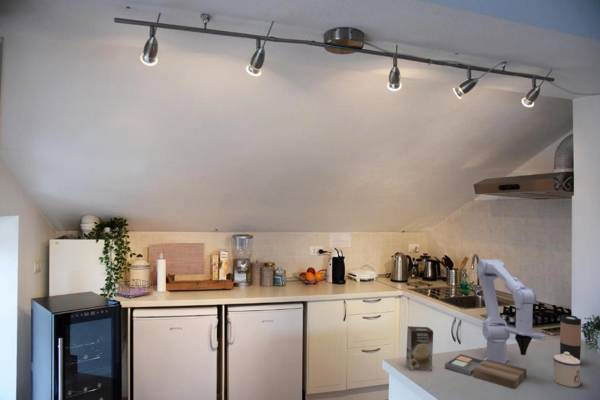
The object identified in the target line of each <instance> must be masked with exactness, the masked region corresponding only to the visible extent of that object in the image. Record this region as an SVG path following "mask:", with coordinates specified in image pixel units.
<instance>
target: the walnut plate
mask: <svg viewBox="0 0 600 400" xmlns="http://www.w3.org/2000/svg"><path fill="white" fill-rule="evenodd" d="M483 361H484V360H483ZM472 377H473V378H476V379H480V380H483V381H486V382H490V383H493V384H496V385H499V386H502V387H506V388H508V389H512V390H513V389H514V390H515V389H516V388H517V387H518V386H519V385H520V384H521V383H522V382H523V381H524V380H525V379H526V378H527V368H524V367H521V366H520V367H519V366H516V365H512V364H509V363H501V362H498V361H494V360H490V359H486V360H485V361H484V362H482V363H481V364H480V365H478V366H477V367H476V368H474V369H473V375H472Z"/></svg>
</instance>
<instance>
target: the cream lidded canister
mask: <svg viewBox="0 0 600 400" xmlns="http://www.w3.org/2000/svg"><path fill="white" fill-rule="evenodd" d="M552 359H553V377H552V378H553V381H554V382H555V383H557V384H558V385H561V386H565V387H569V388H577V387H579V386H581V364H582V362H581V359H580V360H578V359H577V358H574V357H573V356H571V355H570V353H569V352H564V354H560V353H559V354H554V356H553V357H552Z"/></svg>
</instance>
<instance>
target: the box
mask: <svg viewBox="0 0 600 400" xmlns="http://www.w3.org/2000/svg"><path fill="white" fill-rule="evenodd" d="M460 356H463V357H467V358H471V359H472V364H471V365H470V366H468V368H467V369H464V368H461V367H457V366H454V365H451V363H452V362H454V361H455V360H456V358H458V357H460ZM482 362H484V360H483V359H481V358H477V357H473V356H469V355H466V354H462V353H459V354H458V355H456V356H455V357H453V358H451V359H450V360H448V361H447V362H445V363H444V369H446V370H449V371H452V372H456V373H459V374H462V375H466V376H470V377H472V376H473V369H474V368H476V367H477V366H478V365H480V364H481V363H482Z"/></svg>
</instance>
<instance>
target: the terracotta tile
mask: <svg viewBox="0 0 600 400" xmlns="http://www.w3.org/2000/svg"><path fill="white" fill-rule="evenodd" d="M456 360H458V361H461V362H465V363H468V366H470V365H471V364H472V359H471V358H467V357H463V356H460V357H458V358H456Z"/></svg>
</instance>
